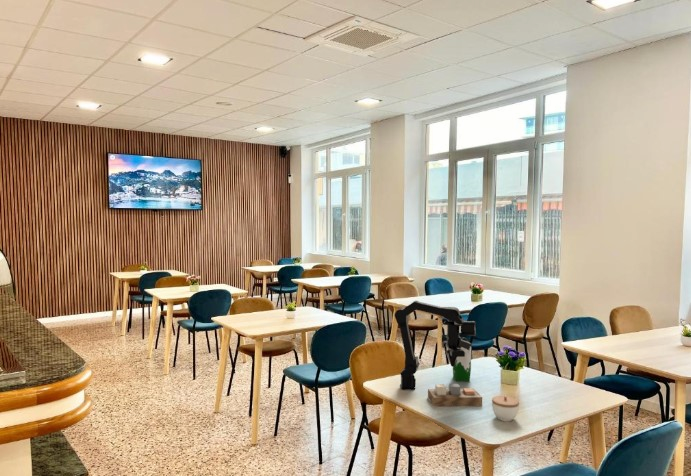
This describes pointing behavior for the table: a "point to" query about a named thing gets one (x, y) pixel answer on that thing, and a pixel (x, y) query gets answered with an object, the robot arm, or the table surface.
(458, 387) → the grey cube
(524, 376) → the table surface
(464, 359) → the milk carton
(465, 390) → the orange cube
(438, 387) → the ivory key
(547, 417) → the table surface
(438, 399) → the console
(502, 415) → the lidded jar
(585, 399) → the table surface
